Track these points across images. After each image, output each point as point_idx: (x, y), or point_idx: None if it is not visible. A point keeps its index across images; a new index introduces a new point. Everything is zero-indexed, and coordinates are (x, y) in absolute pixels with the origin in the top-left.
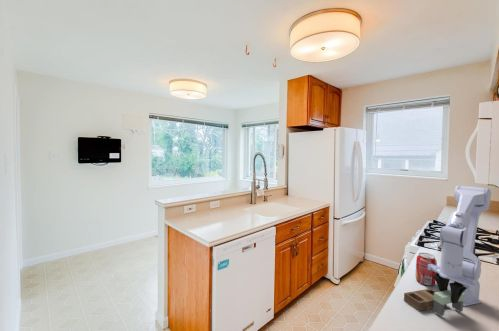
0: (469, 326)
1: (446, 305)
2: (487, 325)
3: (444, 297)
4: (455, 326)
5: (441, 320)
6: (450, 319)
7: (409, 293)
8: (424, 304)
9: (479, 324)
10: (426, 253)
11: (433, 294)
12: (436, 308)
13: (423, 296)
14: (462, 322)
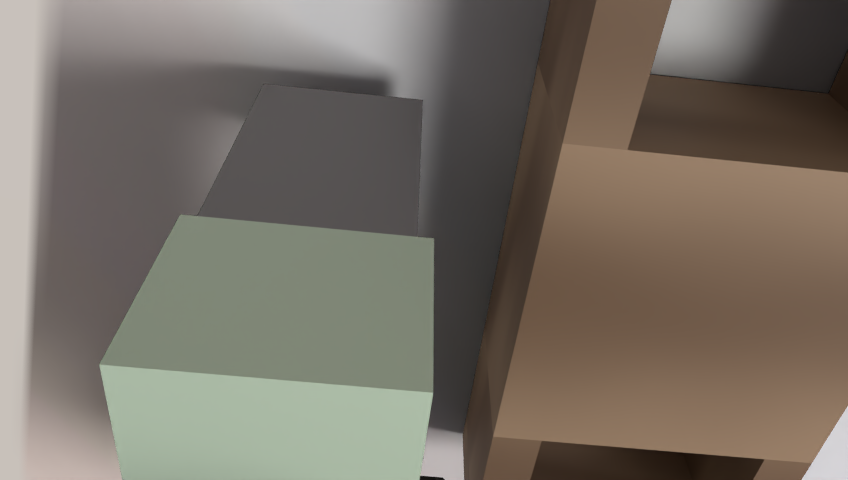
0: (32, 277)
1: (463, 436)
2: (38, 468)
3: (117, 422)
4: (43, 79)
5: (220, 6)
6: (211, 187)
7: None
8: (571, 41)
9: (61, 417)
10: None
11: None
12: (353, 136)
13: (712, 258)
14: (121, 278)
